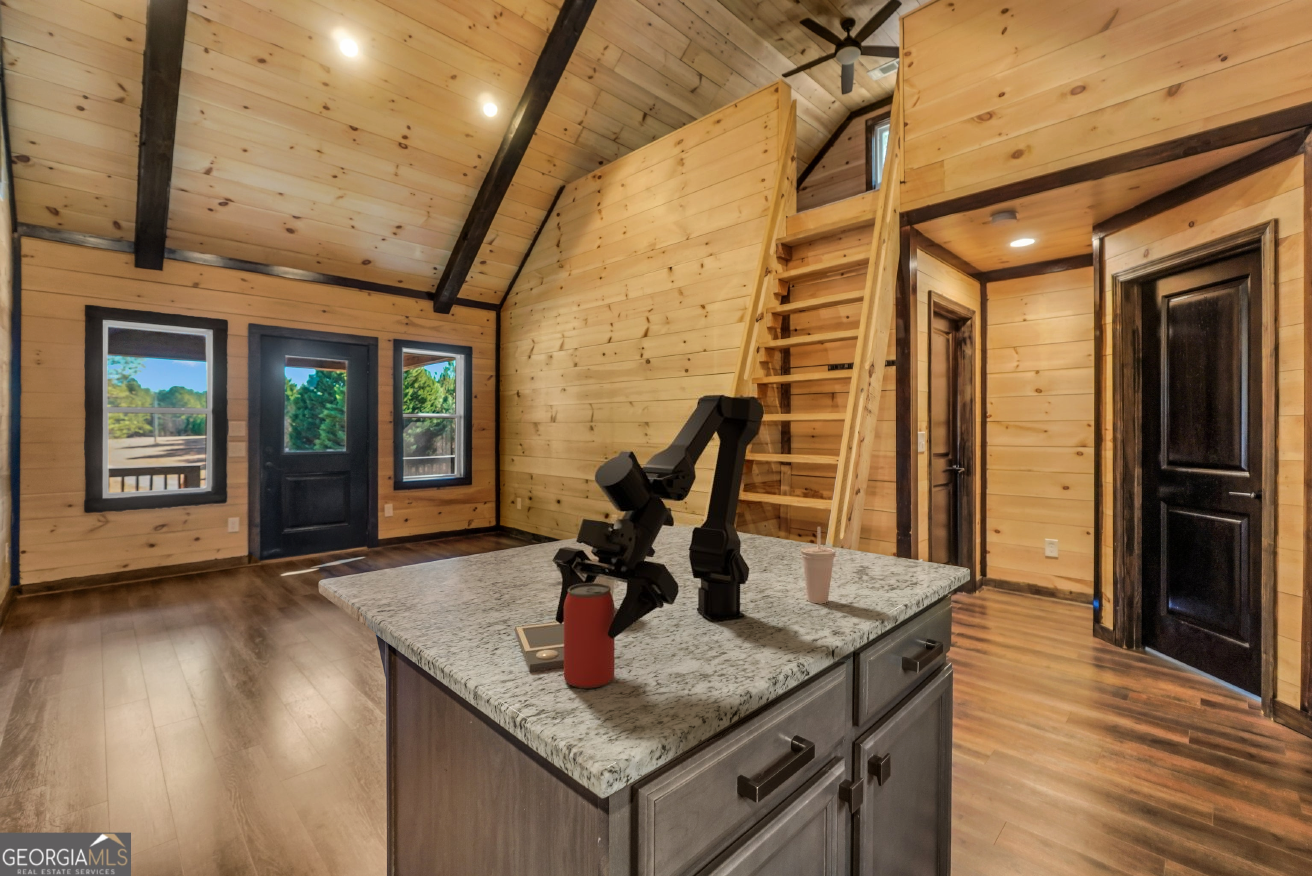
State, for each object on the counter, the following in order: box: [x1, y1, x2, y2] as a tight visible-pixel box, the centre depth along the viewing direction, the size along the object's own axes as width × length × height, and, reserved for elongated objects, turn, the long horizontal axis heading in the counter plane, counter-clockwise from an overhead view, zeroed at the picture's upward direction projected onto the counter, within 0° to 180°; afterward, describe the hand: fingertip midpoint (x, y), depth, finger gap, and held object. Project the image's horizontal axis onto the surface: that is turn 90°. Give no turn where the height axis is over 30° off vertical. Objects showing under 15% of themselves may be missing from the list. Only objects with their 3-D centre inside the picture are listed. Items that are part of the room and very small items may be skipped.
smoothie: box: [800, 526, 837, 605], centre depth 112 cm, size 6×6×14 cm
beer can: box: [563, 583, 615, 690], centre depth 77 cm, size 7×7×12 cm
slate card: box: [514, 621, 564, 673], centre depth 89 cm, size 10×16×1 cm, turn 20°
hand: (583, 629), depth 76 cm, fingers open, 9 cm apart
